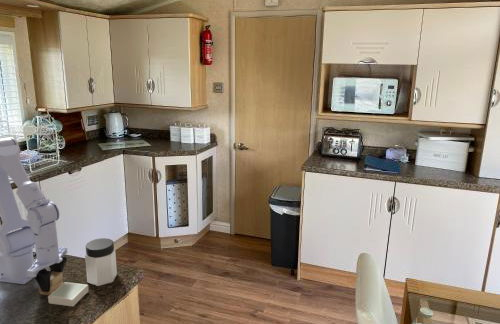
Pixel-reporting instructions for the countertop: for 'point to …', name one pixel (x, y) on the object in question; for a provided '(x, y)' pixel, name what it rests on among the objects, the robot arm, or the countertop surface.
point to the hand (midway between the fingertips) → (51, 286)
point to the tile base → (68, 294)
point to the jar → (100, 261)
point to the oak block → (54, 282)
